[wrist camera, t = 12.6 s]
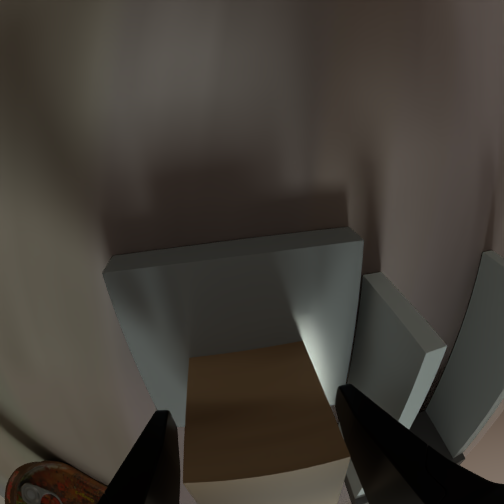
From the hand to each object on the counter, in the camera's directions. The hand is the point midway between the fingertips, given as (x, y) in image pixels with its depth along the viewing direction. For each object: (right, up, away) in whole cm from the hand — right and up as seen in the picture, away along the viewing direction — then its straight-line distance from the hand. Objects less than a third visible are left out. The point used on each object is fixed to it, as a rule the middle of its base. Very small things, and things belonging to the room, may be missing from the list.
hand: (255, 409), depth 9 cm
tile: (0, +1, +3) cm, 4 cm away
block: (0, -1, +3) cm, 3 cm away
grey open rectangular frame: (+8, -2, +6) cm, 10 cm away
